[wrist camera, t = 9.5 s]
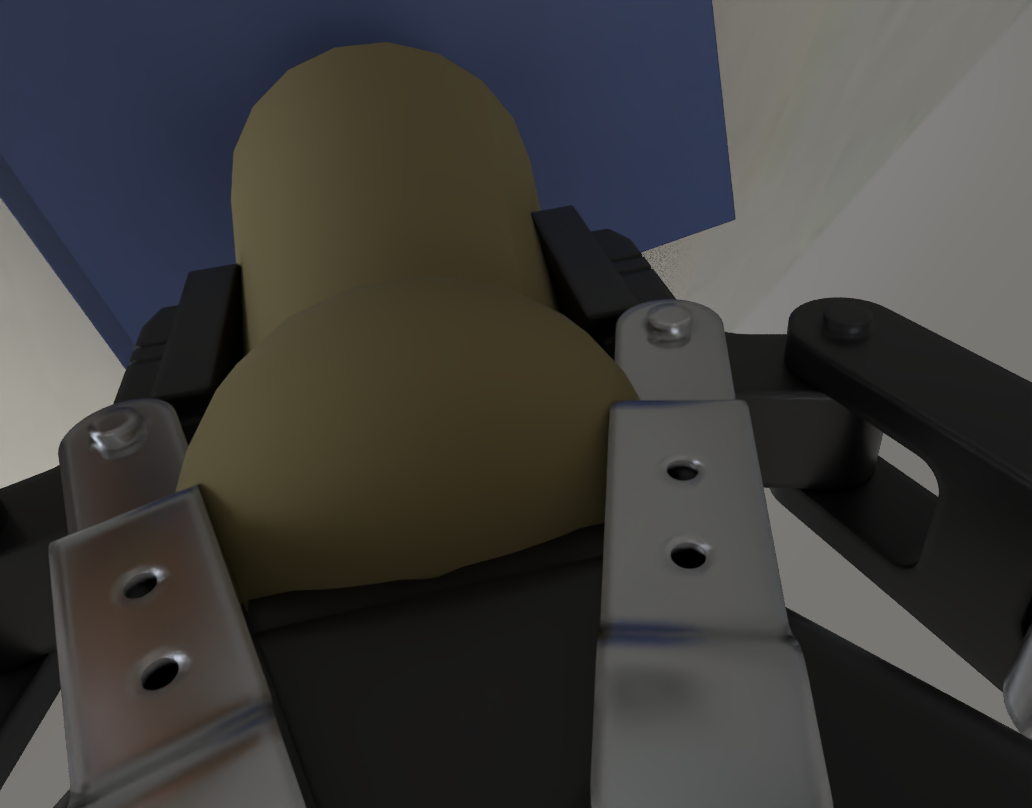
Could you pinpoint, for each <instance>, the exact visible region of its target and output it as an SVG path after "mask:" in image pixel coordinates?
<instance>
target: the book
mask: <svg viewBox="0 0 1032 808" xmlns="http://www.w3.org/2000/svg"><path fill="white" fill-rule="evenodd" d="M381 42H390V43H395V44H399V45H403V46H408V47H412V48H416V49H421V50H425V51H429V52H434V53H438V54H440V55H442V56H443V57H445V58H447V59H448V60H450V61H451V62H453V63H455V64H456V65H458V66H459V67H461V68H463V69H464V70H466V71H468V72H469V73H471V74H472V75H474V76H476V77H477V78H479V79H481V80H482V81H483V82H484V83H485V84H486V86H487V87H488V88H489V89H490V90H491V92H492V93H493V94H494V95H495V96H496V98H497V99H498V100H499V101H500V102H501V104H502V105H503V106H504V107H505V109H506V110H507V111H508V112H509V113H510V115H511V116H512V117H513V118H514V121H515V123H516V126H517V128H518V131H519V133H520V136H521V139H522V141H523V144H524V146H525V149H526V151H527V154H528V157H529V159H530V162H531V167H532V172H533V176H534V181H535V186H536V191H537V196H538V201H539V205H540V210H546V209H552V208H558V207H563V206H569V205H573V206H574V207H575V209H576V210H577V212H578V213H579V215H580V216H581V218H582V219H583V221H584V222H585V224H586V225H587V227H588V228H589V230H590V231H597V230H602V229H608V228H609V229H611V230H613V231H615V232H617V233H619V234H621V235H623V236H625V237H627V238H629V239H631V241H632V242H633V243H634V244H635V246H636V247H637V248H638V250H639V251H640V252H644V251H646V250H649V249H652V248H655V247H658V246H661V245H664V244H666V243H669V242H672V241H675V240H678V239H681V238H684V237H687V236H689V235H692V234H695V233H698V232H701V231H704V230H707V229H709V228H712V227H715V226H718V225H721V224H724V223H727V222H729V221H732V220H735V210H734V201H733V191H732V182H731V173H730V164H729V154H728V145H727V136H726V127H725V117H724V108H723V99H722V90H721V80H720V71H719V62H718V53H717V43H716V34H715V25H714V16H713V6H712V0H0V198H1V199H2V200H3V202H4V203H5V204H6V206H7V207H8V209H9V210H10V211H11V213H12V214H13V215H14V217H15V218H16V220H17V221H18V222H19V224H20V225H21V226H22V228H23V229H24V230H25V232H26V233H27V235H28V236H29V237H30V239H31V240H32V241H33V243H34V244H35V246H36V247H37V248H38V250H39V251H40V252H41V254H42V255H43V257H44V258H45V259H46V261H47V262H48V263H49V265H50V266H51V268H52V269H53V270H54V272H55V273H56V274H57V276H58V277H59V278H60V280H61V281H62V283H63V284H64V285H65V287H66V288H67V289H68V291H69V292H70V294H71V295H72V296H73V298H74V299H75V300H76V302H77V303H78V305H79V306H80V307H81V309H82V310H83V311H84V313H85V314H86V316H87V317H88V318H89V320H90V321H91V322H92V324H93V325H94V326H95V328H96V329H97V331H98V332H99V333H100V335H101V336H102V337H103V339H104V340H105V342H106V343H107V344H108V346H109V347H110V348H111V350H112V351H113V353H114V354H115V355H116V357H117V358H118V359H119V361H120V362H121V364H122V365H123V366H124V368H125V369H127V366H130V363H129V361H130V358H131V355H132V353H133V350H136V348H135V345H136V342H137V339H138V337H139V334H140V331H141V329H142V327H143V326H144V325H145V324H146V323H147V322H148V321H149V320H150V319H151V318H152V317H153V316H154V315H155V314H156V313H157V312H158V311H159V310H160V309H161V308H164V307H170V306H175V305H179V302H180V298H181V295H182V292H183V289H184V286H185V282H186V279H187V276H188V273H189V272H190V271H196V270H202V269H207V268H213V267H219V266H224V265H230V264H236V255H235V243H234V231H233V218H232V206H231V189H232V170H233V152H234V149H235V147H236V145H237V143H238V140H239V138H240V136H241V133H242V131H243V129H244V126H245V124H246V122H247V119H248V117H249V115H250V112H251V110H252V108H253V106H254V105H255V104H256V103H257V102H258V101H259V100H260V99H261V98H262V97H263V96H264V95H265V94H266V93H267V92H268V91H269V89H270V88H271V87H272V86H273V85H274V84H275V83H276V82H277V81H278V80H279V79H280V78H281V77H282V76H283V75H284V74H285V73H286V72H287V71H288V70H289V69H291V68H294V67H296V66H298V65H300V64H302V63H304V62H306V61H308V60H310V59H312V58H314V57H316V56H318V55H320V54H322V53H325V52H327V51H329V50H331V49H333V48H335V47H344V46H353V45H363V44H372V43H381Z"/></svg>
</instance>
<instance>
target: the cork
mask: <svg viewBox="0 0 1032 808" xmlns="http://www.w3.org/2000/svg"><path fill="white" fill-rule="evenodd" d="M231 206H232V218H233V231H234V243H235V255H236V263H238V264H239V265H240V269H241V305H242V340H243V352H244V358H243V359H242V360H241V361H239V362H238V363H237V364H236V366H235V367H234V368H233V369H232V371H231V372H230V373H229V374H228V376H227V377H226V378H225V379H224V381H223V382H222V383H221V384H220V386H219V387H218V388H217V390H216V391H215V393H214V395H213V397H212V399H211V402H210V404H209V406H208V408H207V410H206V412H205V414H204V416H203V418H202V420H201V422H200V424H199V426H198V428H197V430H196V432H195V434H194V436H193V438H192V440H191V442H190V444H189V446H188V448H187V450H186V454H185V458H184V461H183V465H182V469H181V472H180V476H179V480H178V483H177V487H176V492H178V491H181V490H183V489H186V488H188V487H191V486H193V485H196V484H198V485H199V488H200V490H201V493H202V496H203V499H204V501H205V504H206V506H207V509H208V511H209V514H210V516H211V519H212V521H213V524H214V526H215V529H216V531H217V534H218V537H219V539H220V542H221V544H222V547H223V549H224V551H225V554H226V556H227V558H228V561H229V563H230V565H231V568H232V570H233V572H234V575H235V577H236V580H237V584H238V587H239V590H240V593H241V596H242V599H243V602H244V604H245V607H246V610H247V611H248V601H249V600H252V599H257V598H261V597H266V596H271V595H275V594H280V593H284V592H289V591H294V590H319V589H333V588H344V587H353V586H361V585H369V584H376V583H383V582H389V581H395V580H407V579H432V578H436V577H440V576H442V575H445V574H447V573H449V572H452V571H454V570H456V569H459V568H461V567H464V566H467V565H471V564H475V563H479V562H483V561H486V560H490V559H494V558H498V557H501V556H504V555H508V554H511V553H514V552H517V551H521V550H523V549H526V548H529V547H532V546H535V545H537V544H540V543H543V542H546V541H549V540H552V539H554V538H557V537H560V536H562V535H565V534H567V533H570V532H572V531H574V530H577V529H579V528H584V527H588V526H593V525H597V524H602V523H605V504H606V481H607V459H608V436H609V413H610V404H611V403H612V402H613V401H616V400H640V398H639V396H638V394H637V393H636V391H635V389H634V387H633V386H632V384H631V382H630V381H629V379H628V377H627V375H626V374H625V372H624V371H623V370H622V369H621V368H620V367H619V366H618V364H617V363H616V362H615V361H614V360H613V359H612V358H611V357H610V356H609V355H608V354H607V353H606V352H605V351H604V350H603V349H602V348H601V347H600V346H599V345H598V343H597V342H596V341H595V340H594V339H593V338H592V337H591V336H590V335H589V334H588V333H587V332H586V331H584V330H583V329H582V328H580V327H579V326H578V325H576V324H575V323H574V322H572V321H571V320H570V319H568V318H567V317H566V316H565V315H563V314H561V311H560V307H559V304H558V301H557V297H556V294H555V290H554V287H553V284H552V280H551V277H550V274H549V270H548V267H547V264H546V260H545V257H544V253H543V250H542V247H541V243H540V240H539V237H538V233H537V230H536V227H535V224H534V221H533V219H532V216H531V212H535V211H541V210H540V205H539V201H538V196H537V191H536V186H535V181H534V176H533V172H532V167H531V162H530V159H529V157H528V154H527V151H526V149H525V146H524V144H523V141H522V139H521V136H520V133H519V131H518V128H517V126H516V123H515V121H514V118H513V117H512V116H511V115H510V113H509V112H508V111H507V110H506V109H505V107H504V106H503V105H502V104H501V102H500V101H499V100H498V99H497V98H496V96H495V95H494V94H493V93H492V92H491V90H490V89H489V88H488V87H487V86H486V84H485V83H484V82H483V81H482V80H481V79H479V78H477V77H476V76H474V75H472V74H471V73H469V72H468V71H466V70H464V69H463V68H461V67H459V66H458V65H456V64H455V63H453V62H451V61H450V60H448V59H447V58H445V57H443V56H442V55H440V54H438V53H434V52H429V51H425V50H421V49H416V48H412V47H408V46H403V45H399V44H395V43H390V42H381V43H372V44H363V45H353V46H344V47H335V48H333V49H331V50H329V51H327V52H325V53H322V54H320V55H318V56H316V57H314V58H312V59H310V60H308V61H306V62H304V63H302V64H300V65H298V66H296V67H294V68H291V69H289V70H288V71H287V72H286V73H285V74H284V75H283V76H282V77H281V78H280V79H279V80H278V81H277V82H276V83H275V84H274V85H273V86H272V87H271V88H270V89H269V91H268V92H267V93H266V94H265V95H264V96H263V97H262V98H261V99H260V100H259V101H258V102H257V103H256V104H255V105H254V106H253V108H252V110H251V112H250V115H249V117H248V119H247V122H246V124H245V126H244V129H243V131H242V133H241V136H240V138H239V140H238V143H237V145H236V147H235V149H234V152H233V170H232V189H231Z"/></svg>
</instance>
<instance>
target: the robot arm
mask: <svg viewBox="0 0 1032 808" xmlns="http://www.w3.org/2000/svg"><path fill="white" fill-rule="evenodd" d="M531 216H532V219H533V221H534V224H535V227H536V230H537V233H538V237H539V240H540V243H541V247H542V250H543V253H544V257H545V260H546V264H547V267H548V270H549V274H550V277H551V280H552V284H553V287H554V290H555V294H556V297H557V301H558V304H559V307H560V311H561V314H563V315H565V316H566V317H567V318H568V319H570V320H571V321H572V322H574V323H575V324H576V325H578V326H579V327H580V328H582V329H583V330H584V331H586V332H587V333H588V334H589V335H590V336H591V337H592V338H593V339H594V340H595V341H596V342H597V343H598V345H599V346H600V347H601V348H602V349H603V350H604V351H605V352H606V353H607V354H608V355H609V356H610V357H611V358H612V359H613V360H614V361H615V362H616V363H617V364H618V366H619V367H620V368H621V369H622V370H623V371H624V372H625V374H626V375H627V377H628V379H629V381H630V382H631V384H632V386H633V387H634V389H635V391H636V393H637V394H638V396H639V398H640V400H616V401H613V402H612V403H611V404H610V413H609V436H608V459H607V481H606V504H605V523H602V524H597V525H593V526H588V527H584V528H579V529H577V530H574V531H572V532H570V533H567V534H565V535H562V536H560V537H557V538H554V539H552V540H549V541H546V542H543V543H540V544H537V545H535V546H532V547H529V548H526V549H523V550H521V551H517V552H514V553H511V554H508V555H504V556H501V557H498V558H494V559H490V560H486V561H483V562H479V563H475V564H471V565H467V566H464V567H461V568H459V569H456V570H454V571H452V572H449V573H447V574H445V575H442V576H440V577H436V578H432V579H407V580H395V581H389V582H383V583H376V584H369V585H361V586H353V587H344V588H333V589H319V590H294V591H289V592H284V593H280V594H275V595H271V596H266V597H261V598H257V599H252V600H249V601H248V611H247V610H246V607H245V604H244V602H243V599H242V596H241V593H240V590H239V587H238V584H237V580H236V577H235V575H234V572H233V570H232V568H231V565H230V563H229V561H228V558H227V556H226V554H225V551H224V549H223V547H222V544H221V542H220V539H219V537H218V534H217V531H216V529H215V526H214V524H213V521H212V519H211V516H210V514H209V511H208V509H207V506H206V504H205V501H204V499H203V496H202V493H201V490H200V488H199V485H198V484H196V485H193V486H191V487H188V488H186V489H183V490H181V491H178V492H176V487H177V483H178V480H179V476H180V472H181V469H182V465H183V461H184V458H185V454H186V450H187V448H188V446H189V444H190V442H191V440H192V438H193V436H194V434H195V432H196V430H197V428H198V426H199V424H200V422H201V420H202V418H203V416H204V414H205V412H206V410H207V408H208V406H209V404H210V402H211V399H212V397H213V395H214V393H215V391H216V390H217V388H218V387H219V386H220V384H221V383H222V382H223V381H224V379H225V378H226V377H227V376H228V374H229V373H230V372H231V371H232V369H233V368H234V367H235V366H236V364H237V363H238V362H239V361H241V360H242V359H243V358H244V352H243V340H242V305H241V269H240V265H239V264H238V263H236V264H230V265H224V266H219V267H213V268H207V269H202V270H196V271H190V272H189V273H188V276H187V279H186V282H185V286H184V289H183V292H182V295H181V298H180V302H179V305H175V306H170V307H164V308H161V309H160V310H159V311H158V312H157V313H156V314H155V315H154V316H153V317H152V318H151V319H150V320H149V321H148V322H147V323H146V324H145V325H144V326H143V327H142V329H141V331H140V334H139V337H138V339H137V342H136V345H135V348H136V350H133V353H132V355H131V358H130V361H129V363H130V366H127V369H126V371H125V374H124V377H123V380H122V382H121V385H120V388H119V390H118V393H117V396H116V398H115V401H114V404H113V405H110V406H108V407H105V408H103V409H101V410H98V411H96V412H94V413H92V414H91V415H89V416H87V417H86V418H84V419H83V420H81V421H80V422H79V423H77V424H76V425H75V426H74V427H73V428H72V429H70V430H69V432H68V433H67V434H66V435H65V436H64V438H63V439H62V441H61V443H60V446H59V450H58V456H59V464H60V465H59V466H57V467H55V468H53V469H50V470H48V471H46V472H43V473H41V474H38V475H35V476H33V477H30V478H28V479H25V480H22V481H20V482H17V483H15V484H12V485H9V486H7V487H4V488H2V489H0V790H1V788H2V786H3V785H4V783H5V781H6V780H7V778H8V776H9V775H10V773H11V771H12V770H13V768H14V766H15V765H16V763H17V761H18V760H19V758H20V756H21V755H22V753H23V751H24V750H25V748H26V746H27V745H28V743H29V741H30V740H31V738H32V736H33V735H34V733H35V731H36V730H37V728H38V726H39V724H40V723H41V721H42V720H43V718H44V716H45V714H46V713H47V711H48V710H49V708H50V706H51V705H52V703H53V701H54V700H55V698H56V696H57V695H58V693H59V691H60V690H61V696H62V706H63V717H64V728H65V739H66V750H67V761H68V772H69V783H70V789H69V790H68V791H67V793H66V794H65V795H64V796H63V797H62V798H61V799H60V800H59V802H58V803H57V804H56V805H55V806H54V807H53V808H1032V382H1030V381H1028V380H1026V379H1024V378H1022V377H1020V376H1018V375H1016V374H1014V373H1012V372H1010V371H1008V370H1006V369H1004V368H1003V367H1001V366H999V365H997V364H995V363H993V362H991V361H989V360H987V359H985V358H983V357H981V356H979V355H977V354H975V353H973V352H971V351H969V350H967V349H966V348H964V347H961V346H960V345H958V344H956V343H954V342H952V341H950V340H948V339H946V338H944V337H942V336H940V335H938V334H936V333H934V332H932V331H930V330H928V329H926V328H925V327H922V326H921V325H918V324H917V323H915V322H913V321H911V320H909V319H907V318H905V317H903V316H901V315H899V314H897V313H895V312H893V311H891V310H889V309H887V308H885V307H883V306H881V305H879V304H875V303H872V302H869V301H864V300H860V299H854V298H842V297H841V298H824V299H818V300H813V301H810V302H807V303H805V304H803V305H800V306H799V307H798V308H796V309H795V310H794V311H793V312H792V313H791V315H790V317H789V322H788V330H787V334H735V333H728V332H724V326H723V322H722V319H721V318H720V317H719V315H718V314H717V313H716V312H714V311H713V310H711V309H710V308H708V307H706V306H704V305H701V304H698V303H695V302H691V301H686V300H677V299H676V298H675V297H674V296H673V294H672V293H671V292H670V290H669V289H668V288H667V286H666V285H665V284H664V282H663V281H662V280H661V279H660V277H659V276H658V275H657V273H656V272H655V271H654V269H651V265H650V264H649V263H648V261H647V260H646V259H645V258H644V257H642V254H641V252H640V251H639V250H638V248H637V247H636V246H635V244H634V243H633V242H632V241H631V239H629V238H627V237H625V236H623V235H621V234H619V233H617V232H615V231H613V230H611V229H609V228H608V229H602V230H597V231H590V230H589V228H588V227H587V225H586V224H585V222H584V221H583V219H582V218H581V216H580V215H579V213H578V212H577V210H576V209H575V207H574V206H573V205H569V206H563V207H558V208H552V209H546V210H541V211H535V212H531ZM883 433H885V434H886V435H888V436H889V437H891V438H892V439H894V440H895V441H897V442H898V443H900V444H902V445H903V446H904V447H906V448H907V449H909V450H910V451H912V452H913V453H915V454H916V455H918V456H919V457H920V458H922V459H923V460H924V461H925V462H926V463H927V464H928V466H929V467H930V468H931V470H932V471H933V473H934V475H935V477H936V479H937V483H938V487H939V496H938V497H937V496H936V495H934V494H933V493H931V492H930V491H929V490H927V489H926V488H924V487H923V486H921V485H920V484H919V483H917V482H916V481H914V480H913V479H911V478H910V477H908V476H907V475H906V474H904V473H903V472H901V471H900V470H898V469H897V468H895V467H894V466H893V465H891V464H890V463H888V462H887V461H885V460H884V459H883V458H881V457H880V456H878V453H879V449H880V445H881V440H882V436H883ZM763 487H766V488H770V490H771V492H772V494H773V495H774V497H775V498H776V499H777V500H778V501H779V502H780V503H781V504H782V505H783V506H784V507H785V508H787V509H788V510H789V511H790V512H791V513H792V514H794V515H795V516H796V517H797V518H798V519H799V520H801V521H802V522H803V523H804V524H805V525H807V526H808V527H809V528H810V529H811V530H813V531H814V532H815V533H816V534H817V535H818V536H820V537H821V538H822V539H823V540H824V541H825V542H827V543H828V544H829V545H830V546H831V547H832V548H834V549H835V550H836V551H837V552H838V553H839V554H841V555H842V556H843V557H844V558H845V559H847V560H848V561H849V562H850V563H851V564H852V565H854V566H855V567H856V568H857V569H858V570H859V571H861V572H862V573H863V574H864V575H865V576H866V577H868V578H869V579H870V580H871V581H872V582H874V583H875V584H876V585H877V586H878V587H879V588H881V589H882V590H883V591H884V592H885V593H887V594H888V595H889V596H890V597H891V598H892V599H894V600H895V601H896V602H897V603H898V604H899V605H901V606H902V607H903V608H904V609H905V610H907V611H908V612H909V613H910V614H911V615H912V616H914V617H915V618H916V619H917V620H918V621H919V622H921V623H922V624H923V625H924V626H925V627H926V628H928V629H929V630H930V631H931V632H932V633H933V634H935V635H936V636H937V637H938V638H939V639H941V640H942V641H943V642H944V643H945V644H947V645H948V646H949V647H950V648H951V649H952V650H954V651H955V652H956V653H957V654H958V655H959V656H961V657H962V658H963V659H964V660H965V661H966V662H968V663H969V664H970V665H971V666H972V667H974V668H975V669H976V670H977V671H978V672H979V673H981V674H982V675H983V676H984V677H985V678H987V679H988V680H989V681H990V682H991V683H992V684H993V685H995V686H996V687H997V688H998V689H999V690H1001V691H1002V692H1003V696H1004V703H1005V706H1006V709H1007V712H1008V714H1009V716H1010V717H1011V720H1012V722H1013V723H1014V725H1015V726H1016V728H1017V729H1018V730H1019V732H1020V733H1021V734H1020V733H1018V732H1017V731H1015V730H1013V729H1011V728H1009V727H1007V726H1005V725H1004V724H1002V723H1000V722H998V721H996V720H994V719H992V718H991V717H989V716H987V715H985V714H983V713H981V712H979V711H978V710H975V709H974V708H972V707H970V706H968V705H966V704H965V703H963V702H961V701H959V700H957V699H955V698H953V697H952V696H950V695H948V694H946V693H944V692H942V691H940V690H939V689H936V688H935V687H933V686H931V685H929V684H927V683H926V682H924V681H922V680H920V679H918V678H916V677H914V676H913V675H911V674H909V673H907V672H905V671H903V670H902V669H900V668H898V667H896V666H894V665H892V664H890V663H889V662H887V661H885V660H882V659H881V658H879V657H877V656H876V655H874V654H871V653H870V652H868V651H866V650H864V649H863V648H861V647H859V646H857V645H855V644H853V643H851V642H849V641H848V640H846V639H844V638H842V637H840V636H838V635H837V634H835V633H833V632H831V631H829V630H827V629H825V628H823V627H822V626H820V625H818V624H816V623H814V622H812V621H811V620H809V619H807V618H805V617H803V616H801V615H800V614H798V613H796V612H794V611H792V610H790V609H788V608H787V607H785V602H784V597H783V592H782V585H781V580H780V575H779V569H778V564H777V559H776V553H775V547H774V543H773V537H772V532H771V526H770V521H769V515H768V510H767V504H766V499H765V494H764V488H763Z"/></svg>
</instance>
